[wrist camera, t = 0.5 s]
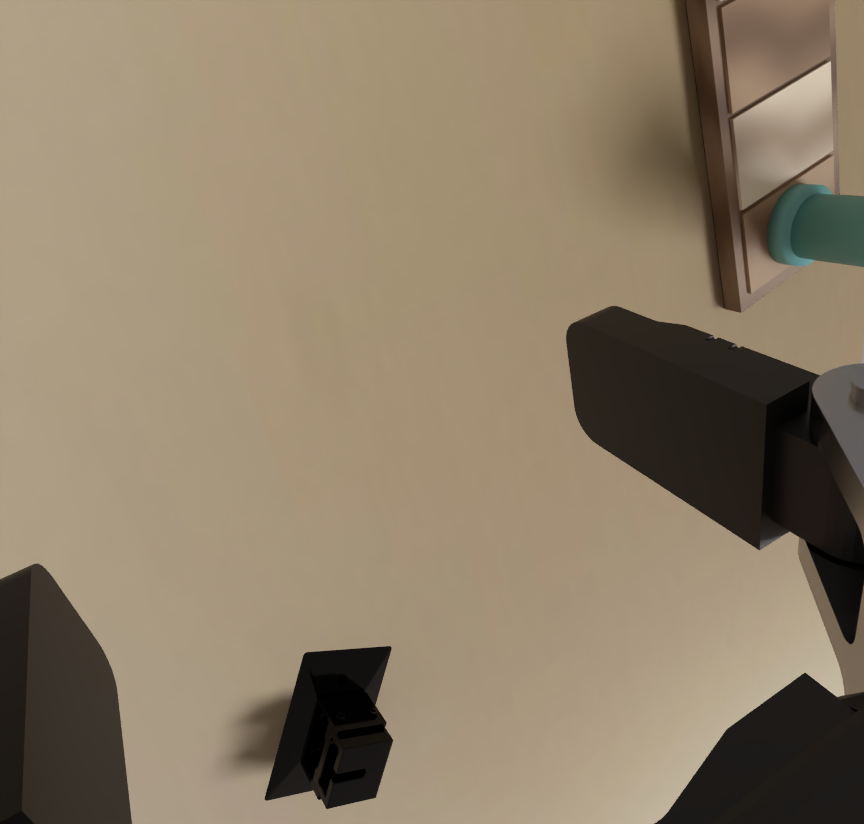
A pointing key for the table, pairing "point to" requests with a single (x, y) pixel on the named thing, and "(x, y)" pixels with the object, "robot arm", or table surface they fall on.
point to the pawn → (816, 227)
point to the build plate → (334, 729)
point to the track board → (762, 123)
